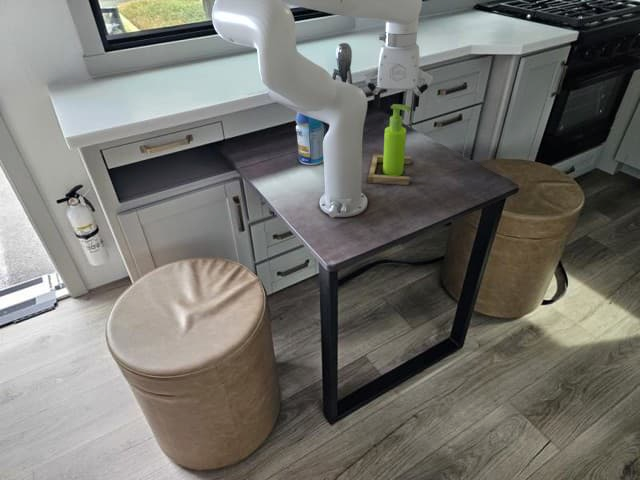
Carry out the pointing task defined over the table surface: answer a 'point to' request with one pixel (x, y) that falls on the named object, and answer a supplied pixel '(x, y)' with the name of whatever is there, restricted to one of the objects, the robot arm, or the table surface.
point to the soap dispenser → (395, 143)
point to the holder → (386, 178)
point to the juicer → (343, 65)
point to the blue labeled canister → (310, 139)
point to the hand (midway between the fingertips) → (395, 108)
